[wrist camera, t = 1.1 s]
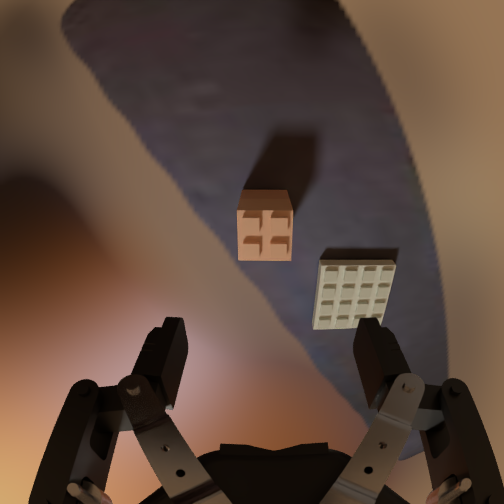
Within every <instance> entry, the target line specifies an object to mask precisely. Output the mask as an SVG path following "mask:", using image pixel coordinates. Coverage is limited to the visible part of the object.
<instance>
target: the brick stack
mask: <svg viewBox="0 0 504 504" xmlns="http://www.w3.org/2000/svg"><path fill="white" fill-rule="evenodd" d="M292 227H293V208H292V205H291V202H290V198H289V195H288V192H287V190H242V193H241V196H240V200H239V204H238V208H237V229H238V260H267V261H291V248H292Z"/></svg>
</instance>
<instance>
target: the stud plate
mask: <svg viewBox="0 0 504 504" xmlns="http://www.w3.org/2000/svg"><path fill="white" fill-rule="evenodd" d="M395 268H396V264H395V263H394V262H393V260H319V269H318V278H317V287H316V296H315V304H314V312H313V319H312V325H313V329H343V328H357V326H358V322H359V319H360V318H367V317H376V318H377V319H378V321H379V323H380V326H381V322H382V319H383V315H384V312H385V308H386V304H387V301H388V297H389V293H390V289H391V285H392V281H393V277H394V272H395Z"/></svg>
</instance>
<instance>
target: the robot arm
mask: <svg viewBox="0 0 504 504" xmlns="http://www.w3.org/2000/svg"><path fill="white" fill-rule="evenodd" d="M353 354H354V358H355V361H356V364H357V368H358V371H359V375H360V378H361V382H362V385H363V389H364V393H365V396H366V400H367V404H368V408H369V409H376V408H377V410H378V414H377V416H376V418H375V420H374V422H373V423H372V425H371V427H370V429H369V430H368V432H367V434H366V435H365V437H364V439H363V441H362V442H361V444H360V445H359V447H358V449H357V450H356V452H355V453H354V455H353V457H350V456H349V455H347V454H345V453H343V452H340V451H337V450H332V449H328V443H327V442H325V443H312V444H300V445H297V446H293V447H289V448H285V449H281V450H276V451H272V450H267V449H263V448H258V447H254V446H250V445H238V444H220V450H217V451H213V452H209V453H206V454H203V455H201V456H199V457H197V458H196V456H195V455H194V453H193V452H192V451H191V449H190V448H189V446H188V444H187V443H186V441H185V440H184V438H183V437H182V435H181V434H180V432H179V431H178V429H177V427H176V426H175V424H174V422H173V421H172V419H171V418H170V417H169V415H167V414H166V412H165V409H169V410H173V408H174V405H175V401H176V397H177V392H178V389H179V385H180V381H181V377H182V374H183V370H184V366H185V362H186V358H187V355H188V340H187V335H186V331H185V325H184V320H183V318H180V317H179V318H178V317H166V318H165V320H164V323H163V325H162V327H155V328H154V329H153V330H152V331H151V332H150V333H149V334H148V335H147V338H146V340H145V342H144V344H143V347H142V351H140V354H139V356H138V359H137V361H136V363H135V366H134V368H133V371H132V373H131V375H128V376H126V377H124V378H123V379H121V380H120V382H119V383H118V385H115V386H106V387H98V385H97V383H96V382H94V381H92V380H89V379H84V380H80V381H78V382H76V383H75V384H74V385H73V386H72V387H71V389H70V392H69V394H68V396H67V398H66V400H65V402H64V405H63V407H62V410H61V412H60V414H59V417H58V419H57V421H56V424H55V426H54V429H53V432H52V434H51V436H50V439H49V442H48V444H47V447H46V450H45V452H44V455H43V458H42V461H41V463H40V466H39V469H38V472H37V475H36V479H35V481H34V485H33V488H32V491H31V494H30V498H29V503H28V504H113V503H112V500H111V499H110V497H109V496H108V495H107V494H105V493H104V491H105V486H106V482H107V478H108V473H109V469H110V465H111V461H112V457H113V453H114V449H115V445H116V441H117V437H118V434H119V432H120V431H130V430H133V431H134V434H135V436H136V438H137V440H138V442H139V444H140V446H141V448H142V450H143V452H144V453H145V455H146V457H147V459H148V461H149V463H150V465H151V467H152V468H153V470H154V472H155V474H156V476H157V477H158V479H159V481H160V482H161V484H162V486H161V487H160V488H159V489H157V490H156V491H155V492H154V493H152V494H151V495H149V496H148V497H147V498H146V499H144V500H143V501H142V502H140V503H139V504H410V503H408V502H407V501H406V500H404V499H403V498H402V497H400V496H399V495H398V494H397V493H395V492H394V491H393V490H391V489H390V488H389V487H388V486H386V485H385V482H386V481H387V479H388V477H389V475H390V473H391V471H392V469H393V467H394V465H395V463H396V461H397V460H398V457H399V455H400V453H401V451H402V449H403V447H404V445H405V443H406V441H407V438H408V436H409V434H410V431H411V429H414V430H419V432H420V436H421V440H422V443H423V447H424V452H425V455H426V460H427V464H428V469H429V473H430V478H431V483H432V488H433V491H431V492H430V493H429V495H428V497H427V499H426V504H504V487H503V483H502V479H501V476H500V472H499V469H498V466H497V462H496V459H495V456H494V453H493V450H492V447H491V444H490V442H489V439H488V436H487V433H486V430H485V428H484V425H483V423H482V420H481V418H480V415H479V413H478V410H477V408H476V405H475V403H474V401H473V398H472V396H471V394H470V391H469V389H468V387H467V385H466V384H465V383H464V382H462V381H461V380H459V379H456V378H450V379H447V380H446V381H445V382H444V383H443V385H442V386H436V385H427V384H424V382H423V380H422V379H421V378H420V377H418V376H417V375H415V374H412V373H411V371H410V369H409V366H408V364H407V362H406V360H405V357H404V355H403V353H402V351H401V350H400V346H399V344H398V342H397V340H396V338H395V336H394V334H393V333H392V332H391V331H390V330H389V329H388V328H387V327H382V328H381V326H380V323H379V321H378V319H377V318H376V317H367V318H360V319H359V322H358V326H357V331H356V334H355V338H354V342H353Z"/></svg>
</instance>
